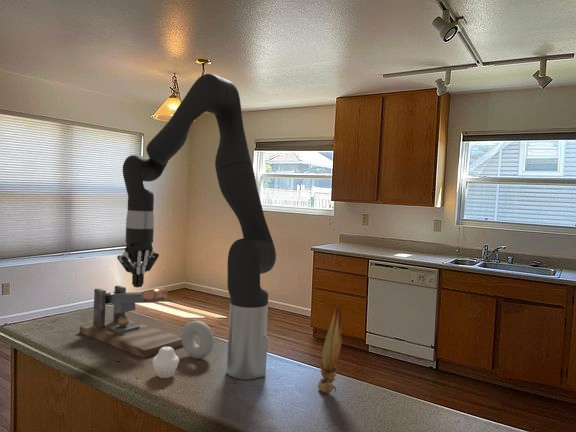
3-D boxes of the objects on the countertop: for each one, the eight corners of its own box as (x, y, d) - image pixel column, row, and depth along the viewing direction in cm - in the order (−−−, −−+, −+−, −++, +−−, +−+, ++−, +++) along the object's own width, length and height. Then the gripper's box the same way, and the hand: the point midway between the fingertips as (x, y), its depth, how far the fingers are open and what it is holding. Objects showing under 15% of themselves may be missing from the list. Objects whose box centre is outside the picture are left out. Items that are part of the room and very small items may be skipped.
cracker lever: (168, 309, 126) (167, 287, 126) (150, 313, 120) (148, 290, 121) (117, 309, 139) (115, 289, 140) (98, 313, 134) (96, 292, 134)
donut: (177, 355, 119) (179, 318, 118) (186, 352, 122) (188, 316, 121) (207, 364, 114) (209, 325, 113) (215, 360, 117) (217, 322, 116)
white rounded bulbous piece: (184, 375, 107) (185, 346, 106) (163, 383, 101) (165, 352, 101) (166, 368, 110) (167, 340, 110) (146, 375, 105) (147, 346, 105)
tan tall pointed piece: (332, 403, 96) (337, 311, 95) (309, 397, 98) (315, 307, 97) (341, 391, 102) (347, 304, 102) (320, 386, 105) (325, 301, 104)
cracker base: (185, 345, 127) (187, 299, 127) (144, 358, 116) (146, 308, 115) (120, 323, 144) (122, 283, 144) (79, 332, 133) (81, 289, 132)
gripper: (128, 228, 120) (125, 292, 121) (167, 227, 131) (164, 285, 132) (111, 226, 124) (109, 288, 125) (150, 225, 135) (148, 282, 136)
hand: (137, 286), depth 128 cm, fingers closed
